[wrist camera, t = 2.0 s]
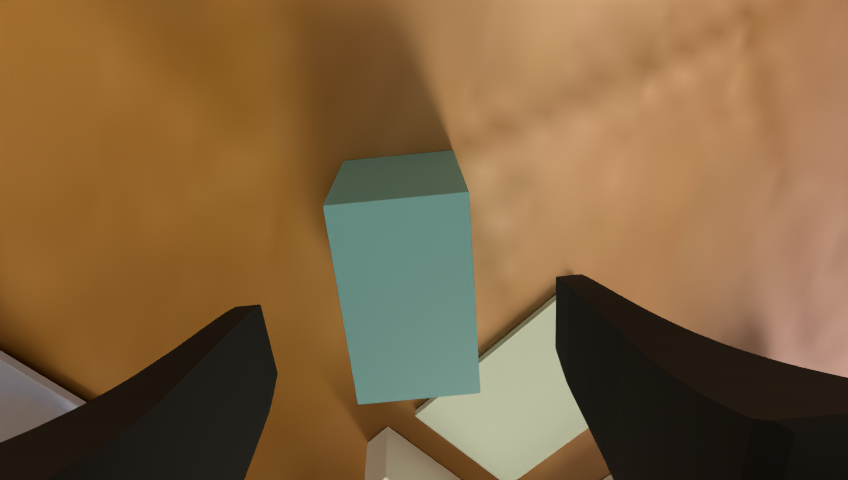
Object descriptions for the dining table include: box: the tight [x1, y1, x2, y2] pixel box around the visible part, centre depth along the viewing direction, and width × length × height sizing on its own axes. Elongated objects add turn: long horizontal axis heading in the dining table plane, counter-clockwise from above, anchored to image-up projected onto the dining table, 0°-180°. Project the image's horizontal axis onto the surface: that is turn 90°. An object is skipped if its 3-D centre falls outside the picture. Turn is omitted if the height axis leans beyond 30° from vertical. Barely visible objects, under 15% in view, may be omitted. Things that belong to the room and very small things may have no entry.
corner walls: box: [364, 426, 613, 480], centre depth 19 cm, size 13×10×2 cm
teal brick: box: [323, 150, 480, 405], centre depth 15 cm, size 6×4×4 cm, turn 5°
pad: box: [415, 295, 589, 480], centre depth 20 cm, size 8×6×1 cm
